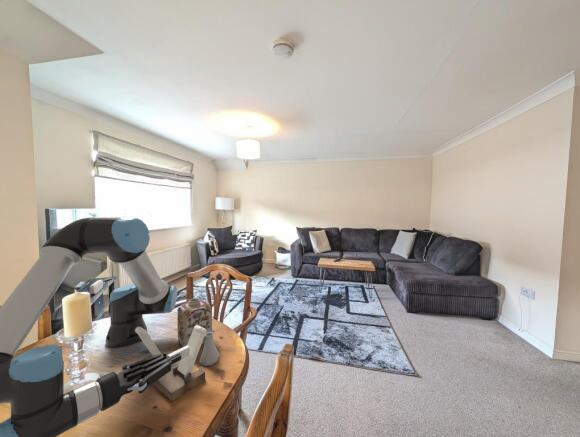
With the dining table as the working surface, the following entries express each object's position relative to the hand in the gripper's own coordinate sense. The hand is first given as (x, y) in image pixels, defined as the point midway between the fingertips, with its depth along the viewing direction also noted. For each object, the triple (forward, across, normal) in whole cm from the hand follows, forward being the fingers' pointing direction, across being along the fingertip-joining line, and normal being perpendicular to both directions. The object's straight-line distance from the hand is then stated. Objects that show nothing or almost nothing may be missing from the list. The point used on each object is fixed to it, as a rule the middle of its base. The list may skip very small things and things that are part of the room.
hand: (188, 350), depth 75 cm
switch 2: (-2, 0, -8) cm, 8 cm away
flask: (+10, -4, -10) cm, 15 cm away
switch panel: (-2, -8, -10) cm, 13 cm away
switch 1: (-2, -15, -8) cm, 17 cm away
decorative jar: (+15, -21, -10) cm, 27 cm away
